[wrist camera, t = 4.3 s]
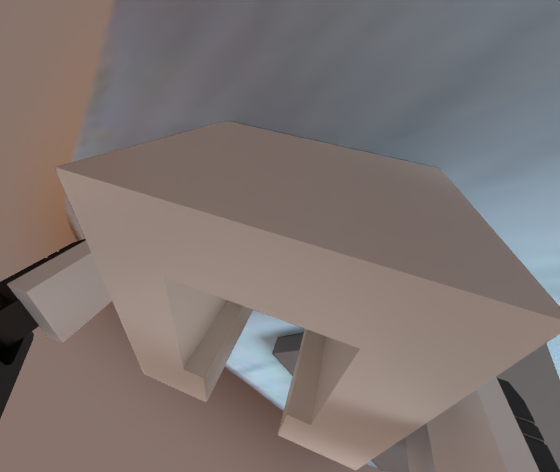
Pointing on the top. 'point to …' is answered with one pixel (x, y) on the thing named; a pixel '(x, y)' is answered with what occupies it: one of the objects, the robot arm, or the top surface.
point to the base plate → (522, 376)
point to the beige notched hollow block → (308, 276)
